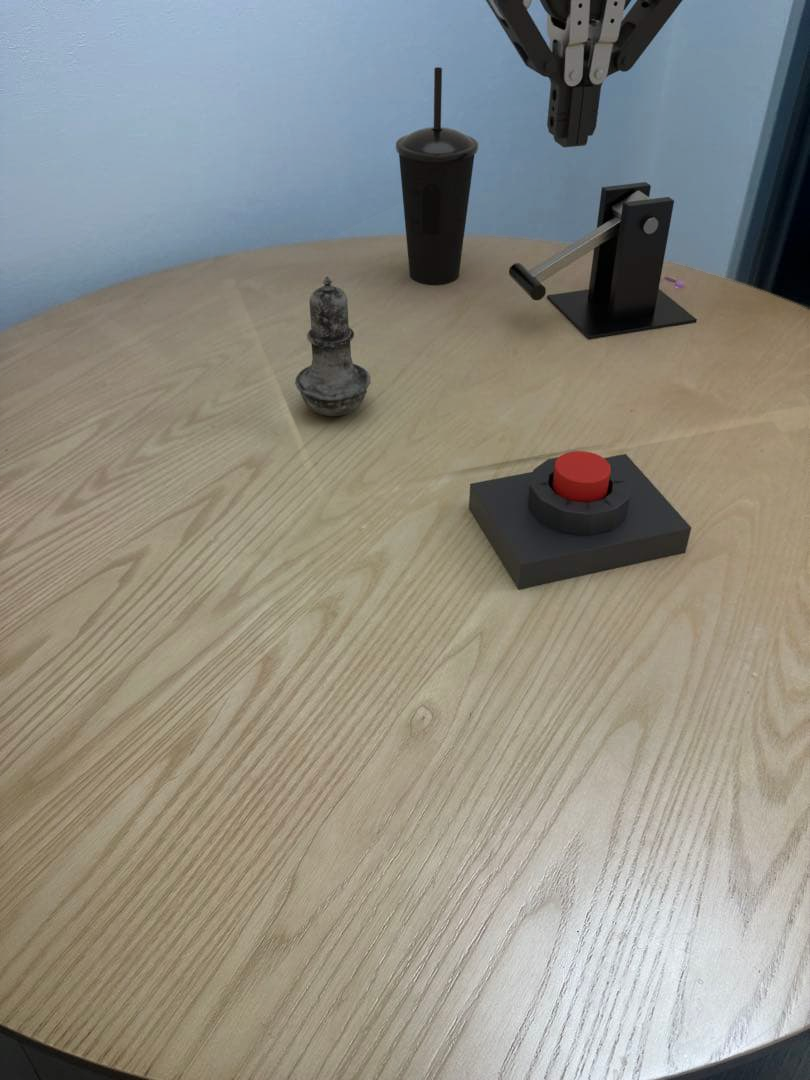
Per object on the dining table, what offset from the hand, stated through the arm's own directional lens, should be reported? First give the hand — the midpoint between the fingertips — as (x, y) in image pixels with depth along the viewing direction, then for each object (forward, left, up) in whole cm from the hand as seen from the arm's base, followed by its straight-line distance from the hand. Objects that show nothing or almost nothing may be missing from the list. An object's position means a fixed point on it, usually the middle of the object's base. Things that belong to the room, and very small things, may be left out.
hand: (569, 143), depth 62 cm
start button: (+4, +13, -18) cm, 23 cm away
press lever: (-10, -15, -15) cm, 23 cm away
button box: (+4, +13, -21) cm, 26 cm away
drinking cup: (0, -28, -22) cm, 35 cm away
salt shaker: (+16, -6, -22) cm, 27 cm away
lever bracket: (-14, -15, -21) cm, 30 cm away
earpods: (-22, -19, -22) cm, 36 cm away
